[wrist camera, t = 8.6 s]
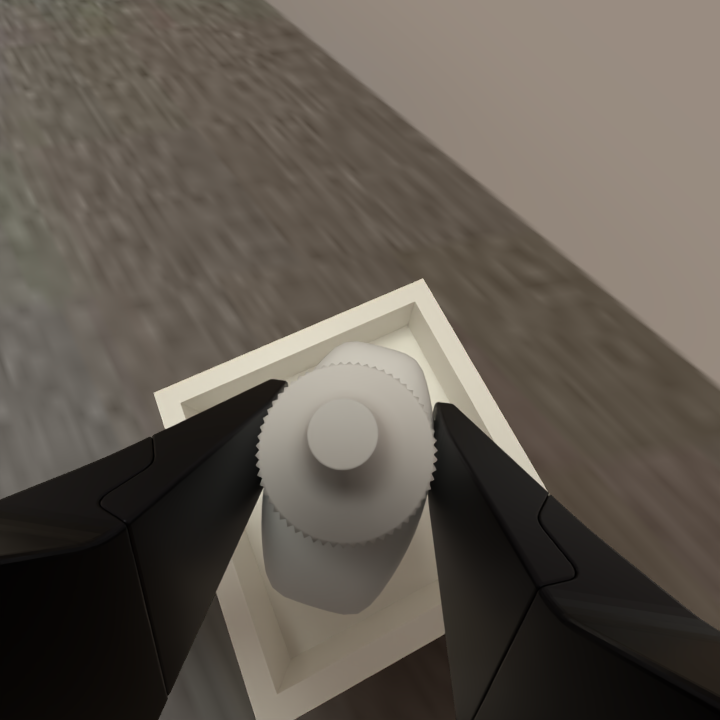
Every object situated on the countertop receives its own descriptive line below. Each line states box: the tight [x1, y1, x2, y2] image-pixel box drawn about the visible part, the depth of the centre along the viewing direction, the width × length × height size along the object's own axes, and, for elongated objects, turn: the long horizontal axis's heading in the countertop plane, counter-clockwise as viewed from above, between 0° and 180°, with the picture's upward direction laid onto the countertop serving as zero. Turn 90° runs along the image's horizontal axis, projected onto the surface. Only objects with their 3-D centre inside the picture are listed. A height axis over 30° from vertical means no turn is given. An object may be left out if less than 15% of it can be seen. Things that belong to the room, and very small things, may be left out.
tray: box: [154, 279, 549, 720], centre depth 15 cm, size 12×12×3 cm
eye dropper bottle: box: [255, 341, 438, 615], centre depth 9 cm, size 4×6×12 cm
